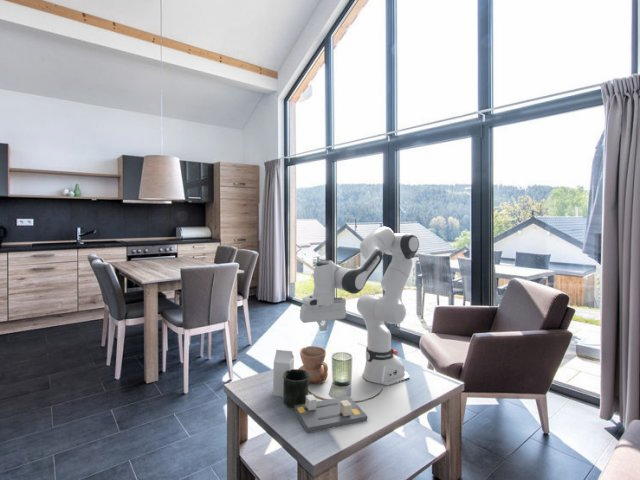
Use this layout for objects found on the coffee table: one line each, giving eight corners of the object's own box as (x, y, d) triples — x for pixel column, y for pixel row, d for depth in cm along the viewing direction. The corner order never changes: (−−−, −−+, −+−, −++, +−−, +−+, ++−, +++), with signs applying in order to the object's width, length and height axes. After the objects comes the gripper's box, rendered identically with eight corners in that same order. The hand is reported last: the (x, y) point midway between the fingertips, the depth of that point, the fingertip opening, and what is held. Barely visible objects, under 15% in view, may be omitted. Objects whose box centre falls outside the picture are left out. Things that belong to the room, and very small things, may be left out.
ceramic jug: (288, 377, 178) (289, 348, 176) (312, 369, 187) (313, 341, 186) (313, 393, 164) (314, 362, 163) (337, 383, 174) (338, 353, 172)
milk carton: (289, 398, 159) (290, 354, 157) (272, 396, 160) (273, 352, 158) (293, 390, 166) (294, 348, 164) (277, 388, 167) (278, 346, 165)
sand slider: (346, 409, 146) (347, 399, 146) (351, 415, 143) (351, 404, 142) (339, 410, 145) (340, 401, 145) (344, 416, 142) (344, 406, 141)
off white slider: (312, 404, 150) (312, 394, 149) (316, 409, 146) (316, 399, 146) (305, 405, 149) (305, 395, 148) (308, 410, 145) (309, 400, 145)
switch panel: (348, 400, 158) (349, 395, 158) (367, 421, 143) (367, 415, 143) (294, 410, 149) (294, 405, 149) (307, 433, 134) (308, 427, 134)
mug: (289, 412, 147) (290, 383, 146) (274, 396, 160) (275, 369, 159) (313, 406, 153) (314, 377, 152) (297, 390, 165) (298, 364, 164)
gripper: (342, 295, 166) (341, 325, 168) (298, 298, 158) (298, 330, 160) (349, 298, 160) (348, 329, 162) (303, 302, 153) (303, 335, 154)
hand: (323, 330), depth 161 cm, fingers closed
